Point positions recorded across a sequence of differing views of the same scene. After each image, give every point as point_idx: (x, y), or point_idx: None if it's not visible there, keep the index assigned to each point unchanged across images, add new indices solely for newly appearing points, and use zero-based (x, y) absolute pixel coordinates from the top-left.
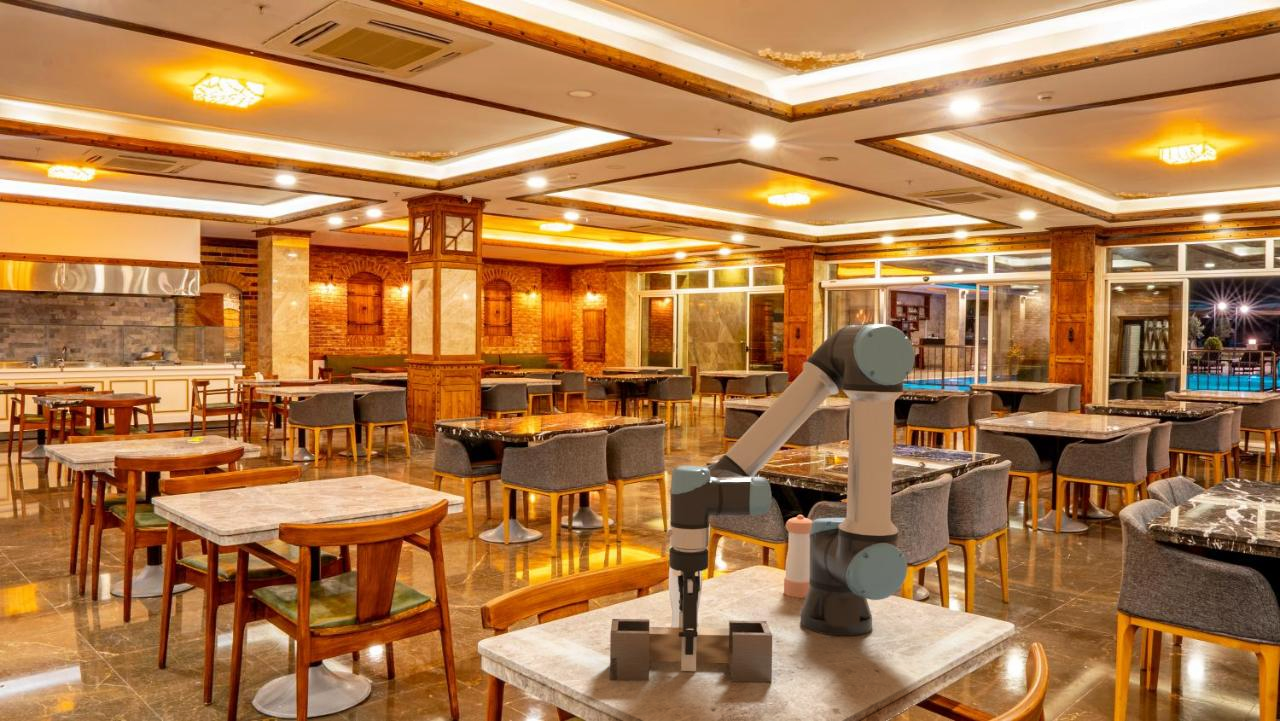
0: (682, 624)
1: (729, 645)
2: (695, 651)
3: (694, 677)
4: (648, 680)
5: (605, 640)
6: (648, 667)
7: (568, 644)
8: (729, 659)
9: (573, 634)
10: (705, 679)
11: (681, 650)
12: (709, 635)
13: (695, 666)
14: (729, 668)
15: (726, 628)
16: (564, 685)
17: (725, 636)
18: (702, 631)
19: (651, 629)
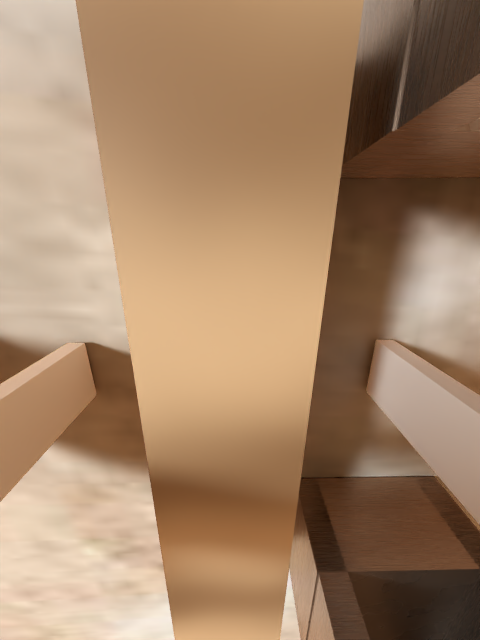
0: (13, 461)
1: (458, 125)
2: (469, 393)
3: (440, 344)
4: (434, 477)
5: (101, 574)
6: (471, 524)
7: (153, 628)
8: (407, 163)
9: (75, 626)
10: (472, 303)
11: (424, 455)
12: (318, 314)
13: (406, 350)
14: (383, 176)
15: (93, 95)
16: None
17: (338, 142)
18: (228, 369)
19: (211, 611)
